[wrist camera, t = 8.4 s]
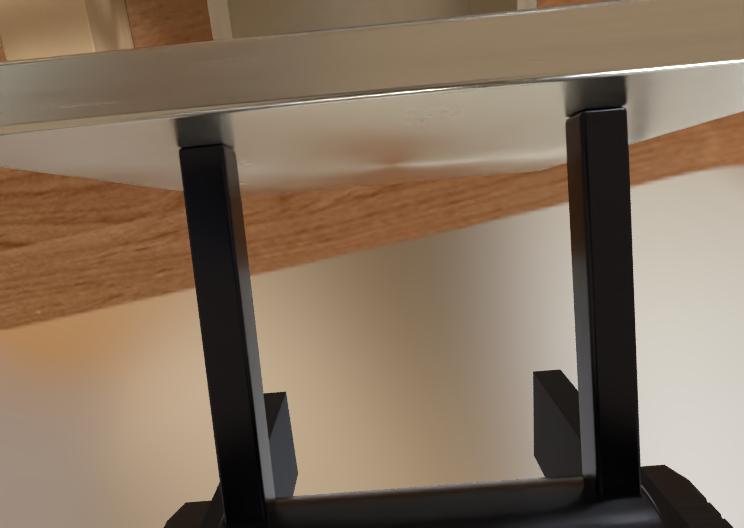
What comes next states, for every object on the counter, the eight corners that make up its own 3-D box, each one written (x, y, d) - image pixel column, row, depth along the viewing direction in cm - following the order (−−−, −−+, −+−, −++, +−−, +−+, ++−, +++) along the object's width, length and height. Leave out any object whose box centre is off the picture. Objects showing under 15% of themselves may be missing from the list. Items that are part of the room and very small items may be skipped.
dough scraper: (-166, 74, 5) (-27, 809, 6) (1003, -42, 5) (977, 748, 6) (232, 178, 20) (257, 395, 21) (541, 150, 19) (553, 371, 20)
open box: (245, -80, 26) (173, -205, 17) (476, -105, 26) (536, -245, 16) (280, 172, 30) (236, 187, 20) (484, 153, 29) (538, 159, 20)
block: (44, -6, 27) (-19, -34, 23) (122, -14, 27) (74, -44, 23) (64, 78, 28) (7, 67, 24) (139, 71, 28) (96, 58, 24)
